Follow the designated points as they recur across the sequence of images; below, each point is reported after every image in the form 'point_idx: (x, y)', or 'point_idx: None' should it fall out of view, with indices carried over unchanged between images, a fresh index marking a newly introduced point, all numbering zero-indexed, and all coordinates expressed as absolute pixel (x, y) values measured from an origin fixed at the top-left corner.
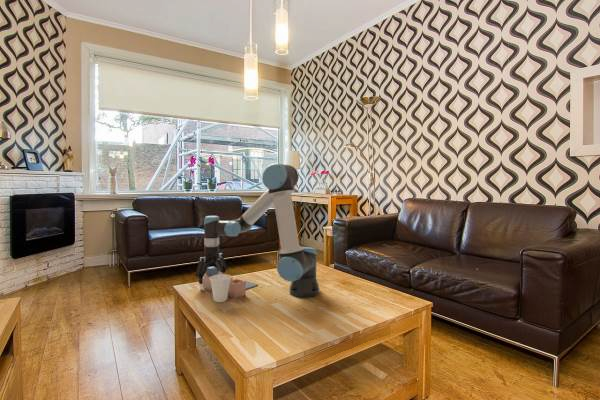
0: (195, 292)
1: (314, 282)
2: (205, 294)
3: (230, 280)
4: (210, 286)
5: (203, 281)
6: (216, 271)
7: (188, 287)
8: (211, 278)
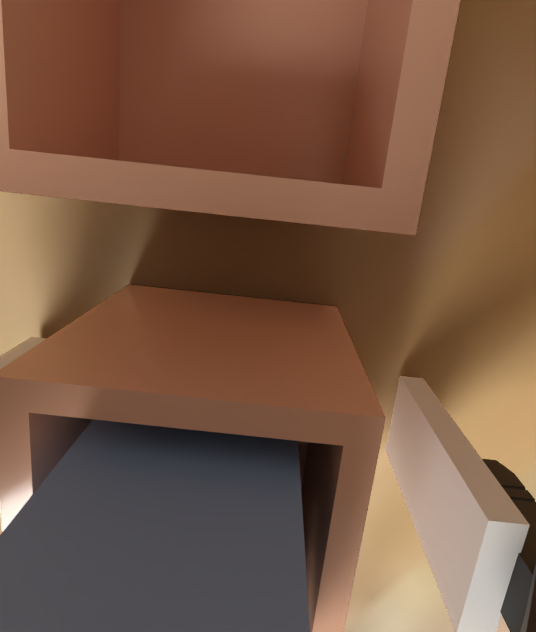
0: (524, 419)
1: None
2: (530, 224)
3: None
4: (344, 328)
5: (475, 463)
6: (62, 515)
7: (406, 629)
8: None
